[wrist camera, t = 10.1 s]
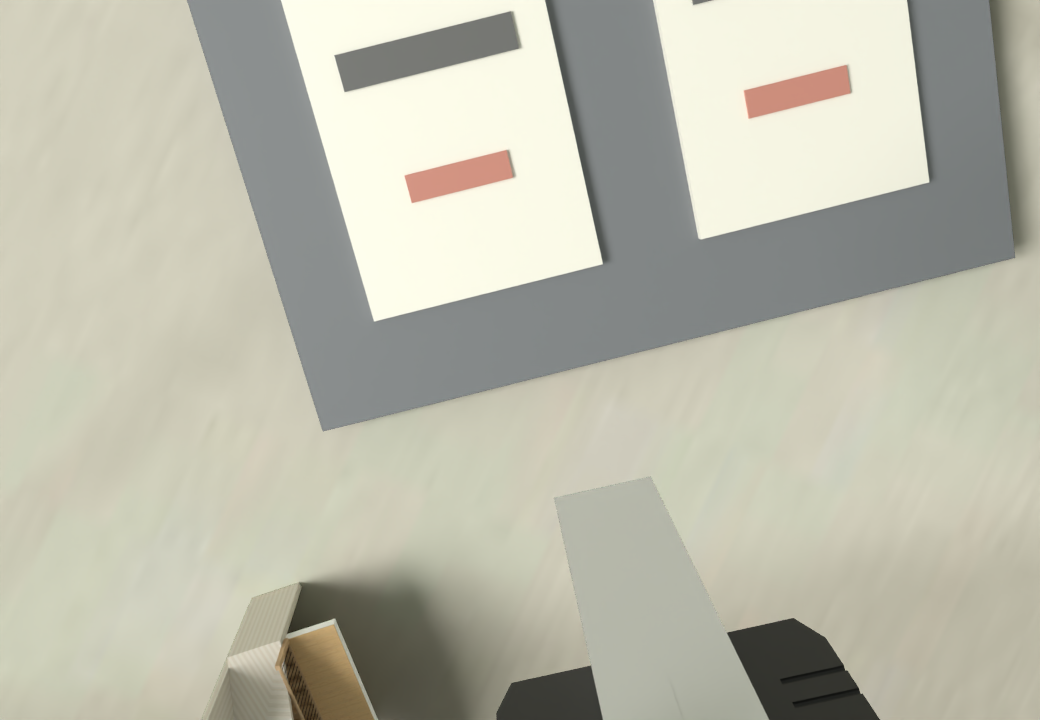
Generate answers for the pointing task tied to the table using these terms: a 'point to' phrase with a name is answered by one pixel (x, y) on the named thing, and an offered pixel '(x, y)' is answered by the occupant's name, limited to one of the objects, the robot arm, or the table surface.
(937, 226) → the label board
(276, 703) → the architectural model
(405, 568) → the table surface
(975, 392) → the table surface
